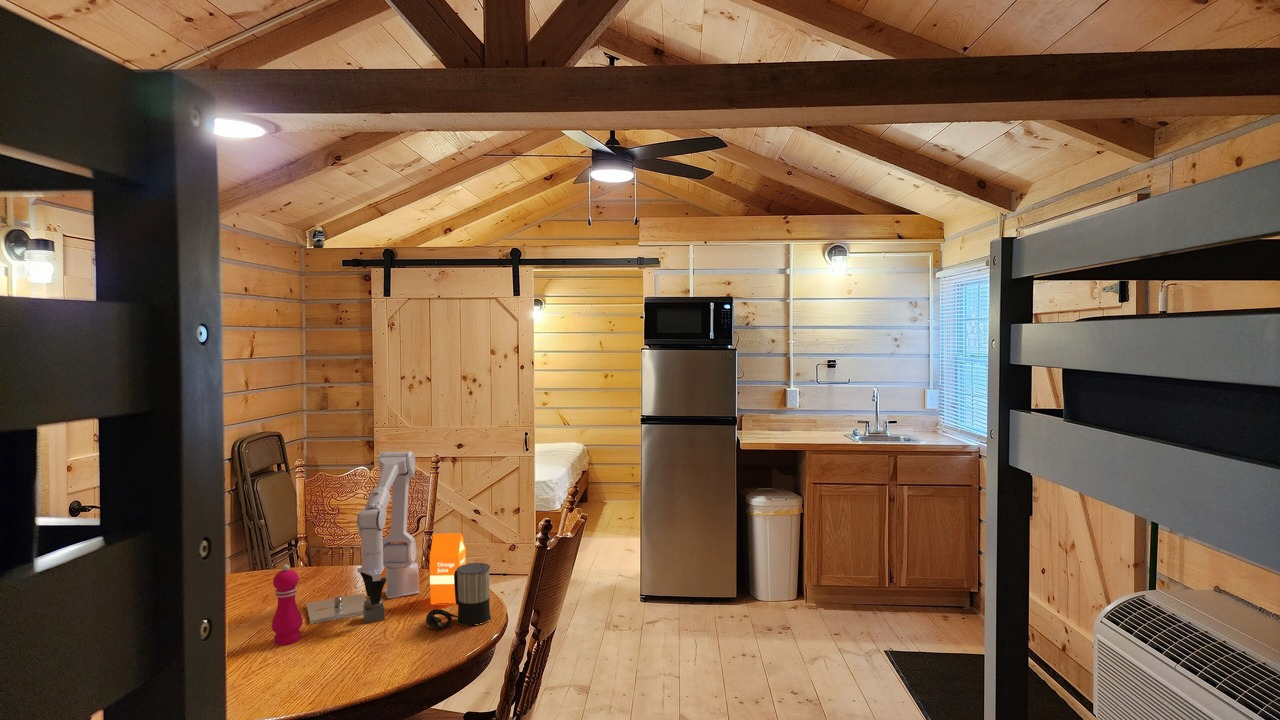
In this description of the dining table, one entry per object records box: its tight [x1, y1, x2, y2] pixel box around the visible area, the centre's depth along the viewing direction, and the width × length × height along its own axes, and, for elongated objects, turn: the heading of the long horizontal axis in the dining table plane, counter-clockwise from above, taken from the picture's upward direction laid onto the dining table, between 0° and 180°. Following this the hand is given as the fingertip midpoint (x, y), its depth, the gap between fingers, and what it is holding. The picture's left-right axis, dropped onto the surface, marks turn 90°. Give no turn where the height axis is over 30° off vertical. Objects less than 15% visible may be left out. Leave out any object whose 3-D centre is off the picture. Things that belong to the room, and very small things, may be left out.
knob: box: [362, 597, 386, 624], centre depth 199 cm, size 5×5×5 cm
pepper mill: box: [271, 564, 303, 646], centre depth 185 cm, size 7×7×20 cm
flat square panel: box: [305, 592, 368, 625], centre depth 207 cm, size 16×16×4 cm
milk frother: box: [425, 562, 492, 630], centre depth 195 cm, size 14×16×15 cm
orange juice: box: [429, 533, 467, 605], centre depth 213 cm, size 8×9×20 cm
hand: (373, 599), depth 199 cm, fingers open, 7 cm apart
